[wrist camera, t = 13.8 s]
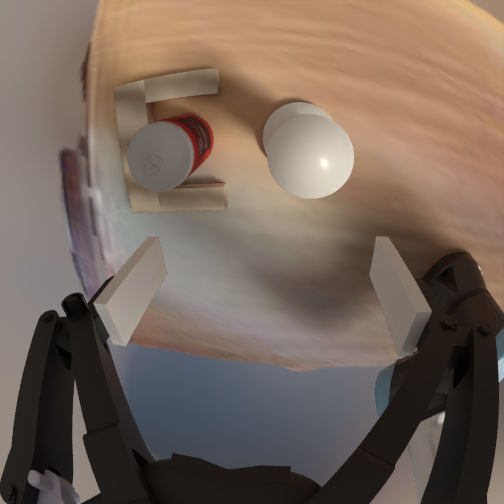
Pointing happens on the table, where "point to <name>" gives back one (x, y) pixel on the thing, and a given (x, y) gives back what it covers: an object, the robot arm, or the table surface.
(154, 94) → the notched board
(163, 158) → the canned food
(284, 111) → the bobbin
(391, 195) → the table surface
